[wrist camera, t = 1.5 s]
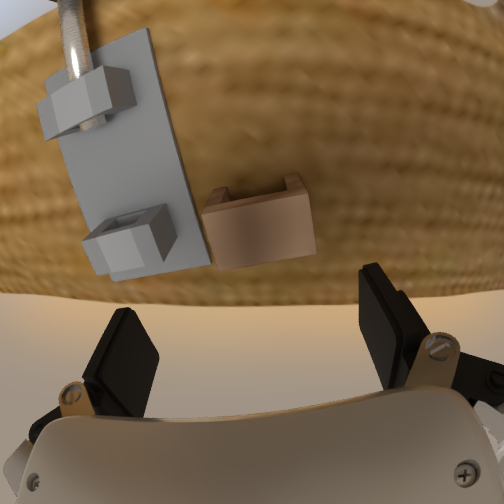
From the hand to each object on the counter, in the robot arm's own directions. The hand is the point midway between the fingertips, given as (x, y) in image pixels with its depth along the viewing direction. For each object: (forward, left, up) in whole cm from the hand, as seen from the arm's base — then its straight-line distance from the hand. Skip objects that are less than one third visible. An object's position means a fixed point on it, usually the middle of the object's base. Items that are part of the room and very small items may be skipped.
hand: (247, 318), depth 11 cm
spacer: (-1, 0, -13) cm, 13 cm away
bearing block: (+9, -6, -13) cm, 17 cm away
